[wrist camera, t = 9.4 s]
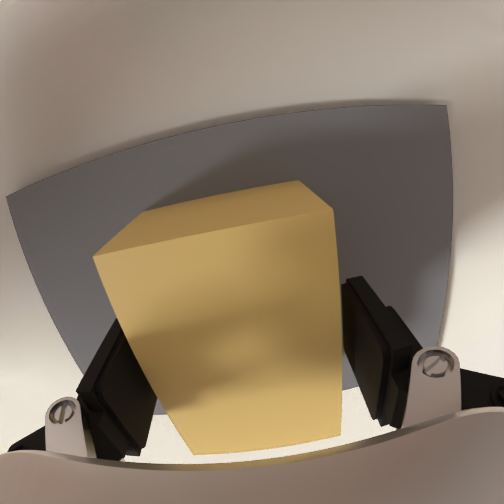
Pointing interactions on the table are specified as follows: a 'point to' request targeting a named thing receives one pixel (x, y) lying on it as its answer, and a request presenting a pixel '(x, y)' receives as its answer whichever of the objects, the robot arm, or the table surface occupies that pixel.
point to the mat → (251, 176)
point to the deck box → (235, 315)
